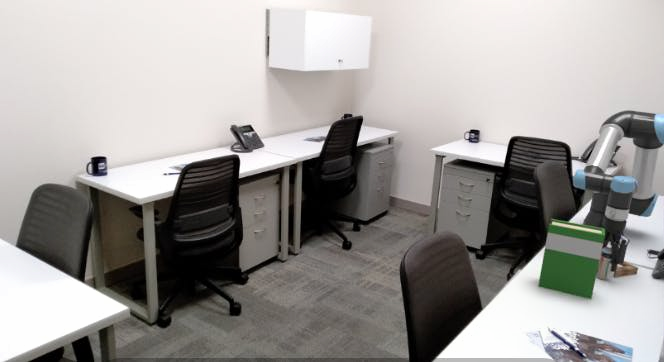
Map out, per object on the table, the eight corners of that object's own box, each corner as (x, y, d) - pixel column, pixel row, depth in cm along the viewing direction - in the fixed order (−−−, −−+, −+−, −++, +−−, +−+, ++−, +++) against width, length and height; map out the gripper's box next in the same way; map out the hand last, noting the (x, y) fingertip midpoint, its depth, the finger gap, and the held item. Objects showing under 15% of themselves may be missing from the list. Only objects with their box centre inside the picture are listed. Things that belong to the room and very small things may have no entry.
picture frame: (611, 261, 218) (612, 255, 218) (636, 274, 208) (638, 267, 207) (589, 264, 214) (590, 258, 213) (614, 277, 203) (615, 271, 203)
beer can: (598, 274, 206) (604, 245, 202) (611, 278, 202) (617, 249, 199) (594, 277, 202) (600, 248, 199) (607, 282, 199) (613, 252, 196)
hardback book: (538, 286, 192) (549, 224, 186) (540, 278, 198) (551, 218, 192) (591, 299, 185) (604, 235, 178) (591, 290, 191) (604, 228, 185)
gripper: (588, 210, 202) (577, 266, 208) (629, 227, 186) (615, 286, 193) (603, 209, 205) (591, 264, 211) (644, 225, 189) (630, 284, 195)
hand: (603, 275), depth 202 cm, fingers closed on beer can, 5 cm apart
